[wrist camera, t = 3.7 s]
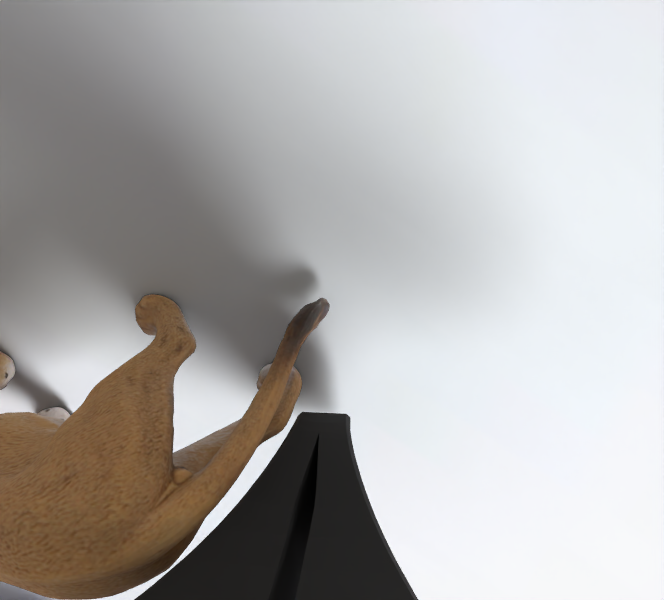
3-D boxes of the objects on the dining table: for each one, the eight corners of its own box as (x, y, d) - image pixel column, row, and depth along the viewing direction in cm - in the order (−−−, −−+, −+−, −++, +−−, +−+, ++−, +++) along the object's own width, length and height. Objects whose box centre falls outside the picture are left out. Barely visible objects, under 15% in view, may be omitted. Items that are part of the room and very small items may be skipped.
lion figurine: (9, 488, 17) (-323, 861, 9) (-103, 381, 15) (-658, 735, 7) (368, 363, 13) (353, 833, 5) (279, 195, 11) (13, 520, 3)
